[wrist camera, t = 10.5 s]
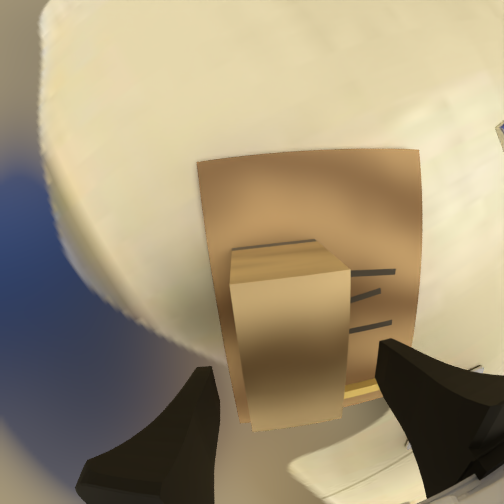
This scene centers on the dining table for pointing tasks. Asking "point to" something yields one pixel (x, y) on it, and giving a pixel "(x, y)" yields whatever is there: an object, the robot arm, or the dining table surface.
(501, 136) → the hard drive
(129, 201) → the dining table surface
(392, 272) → the board
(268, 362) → the block
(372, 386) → the pencil
